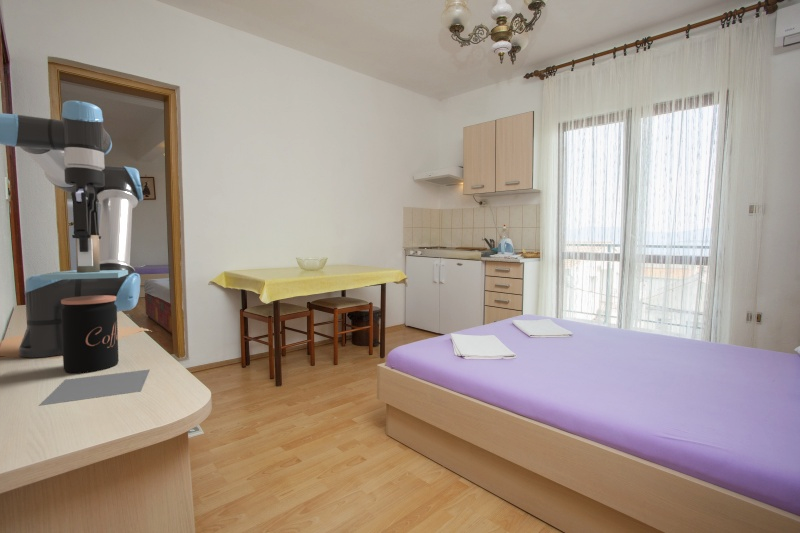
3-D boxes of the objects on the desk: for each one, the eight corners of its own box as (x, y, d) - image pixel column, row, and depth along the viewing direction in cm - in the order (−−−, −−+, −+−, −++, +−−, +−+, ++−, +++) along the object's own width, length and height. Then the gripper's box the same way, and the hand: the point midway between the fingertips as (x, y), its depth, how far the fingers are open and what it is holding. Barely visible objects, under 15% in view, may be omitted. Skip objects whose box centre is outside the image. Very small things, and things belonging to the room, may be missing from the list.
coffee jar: (88, 378, 89) (85, 301, 89) (51, 375, 92) (48, 300, 91) (129, 365, 100) (127, 295, 99) (95, 362, 102) (93, 294, 101)
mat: (65, 383, 86) (65, 379, 86) (150, 372, 94) (150, 369, 94) (38, 409, 72) (38, 405, 72) (141, 395, 79) (140, 391, 79)
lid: (61, 276, 98) (59, 235, 97) (128, 274, 104) (126, 236, 103) (40, 280, 85) (38, 233, 85) (118, 277, 91) (116, 234, 91)
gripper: (75, 173, 99) (78, 264, 100) (52, 160, 84) (56, 267, 85) (111, 176, 103) (114, 264, 104) (95, 163, 87) (99, 266, 88)
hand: (88, 265), depth 94 cm, fingers closed on lid, 4 cm apart
